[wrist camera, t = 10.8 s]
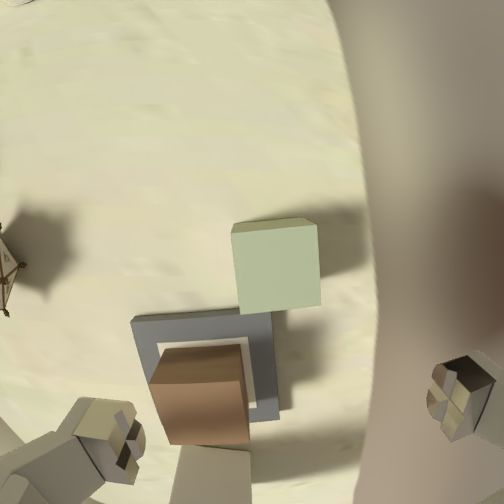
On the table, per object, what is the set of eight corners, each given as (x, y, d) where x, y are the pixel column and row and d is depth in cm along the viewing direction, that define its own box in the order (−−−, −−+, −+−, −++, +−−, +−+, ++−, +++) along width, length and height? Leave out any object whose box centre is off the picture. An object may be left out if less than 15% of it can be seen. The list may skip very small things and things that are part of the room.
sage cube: (233, 223, 23) (230, 233, 18) (301, 217, 23) (316, 224, 18) (241, 289, 24) (240, 314, 19) (306, 281, 24) (321, 305, 19)
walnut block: (165, 348, 23) (148, 384, 18) (240, 343, 23) (239, 380, 18) (180, 405, 24) (170, 444, 19) (248, 402, 24) (249, 442, 19)
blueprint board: (134, 316, 24) (129, 322, 22) (269, 305, 24) (270, 311, 23) (164, 417, 26) (161, 425, 25) (278, 411, 26) (280, 420, 25)
